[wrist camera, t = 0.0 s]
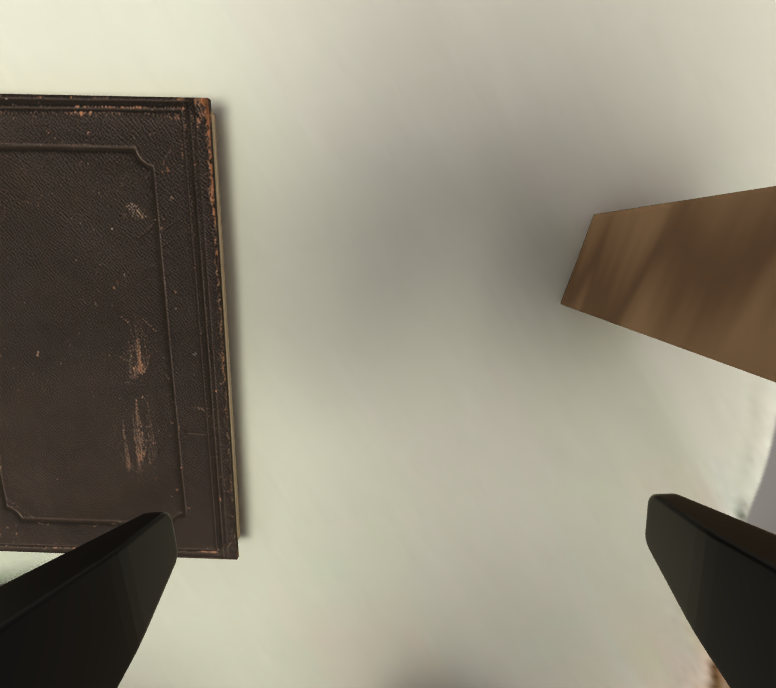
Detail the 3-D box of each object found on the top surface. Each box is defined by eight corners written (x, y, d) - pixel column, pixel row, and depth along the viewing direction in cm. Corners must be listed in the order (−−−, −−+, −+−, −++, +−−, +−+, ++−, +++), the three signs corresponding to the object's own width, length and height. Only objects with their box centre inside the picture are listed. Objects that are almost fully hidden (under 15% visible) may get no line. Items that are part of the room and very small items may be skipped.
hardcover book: (228, 113, 21) (207, 97, 18) (250, 533, 26) (236, 560, 24) (-100, 106, 21) (-160, 90, 19) (-13, 523, 26) (-51, 550, 24)
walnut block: (644, 328, 22) (981, 442, 9) (560, 303, 22) (786, 386, 9) (681, 240, 21) (1117, 233, 8) (594, 214, 21) (901, 166, 8)
